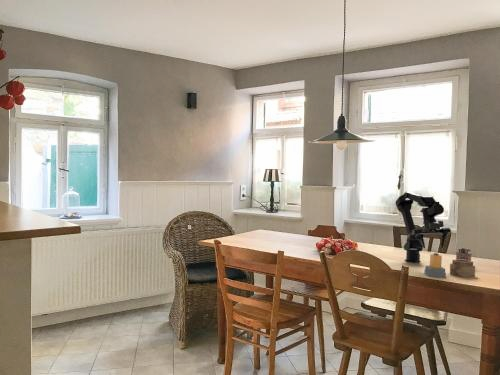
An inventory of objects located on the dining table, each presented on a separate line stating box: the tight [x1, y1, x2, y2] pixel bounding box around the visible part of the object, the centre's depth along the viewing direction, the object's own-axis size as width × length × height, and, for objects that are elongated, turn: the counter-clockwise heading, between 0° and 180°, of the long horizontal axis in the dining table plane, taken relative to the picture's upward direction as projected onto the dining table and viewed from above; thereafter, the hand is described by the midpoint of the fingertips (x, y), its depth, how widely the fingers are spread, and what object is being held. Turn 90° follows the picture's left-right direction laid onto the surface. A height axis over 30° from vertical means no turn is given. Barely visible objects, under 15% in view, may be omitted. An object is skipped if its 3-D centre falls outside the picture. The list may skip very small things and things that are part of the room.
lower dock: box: [424, 264, 447, 278], centre depth 216 cm, size 8×8×4 cm
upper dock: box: [449, 259, 476, 278], centre depth 219 cm, size 8×8×7 cm
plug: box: [429, 252, 443, 269], centre depth 216 cm, size 4×4×9 cm
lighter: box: [455, 247, 473, 261], centre depth 240 cm, size 8×3×10 cm, turn 45°
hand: (433, 247), depth 229 cm, fingers open, 9 cm apart
